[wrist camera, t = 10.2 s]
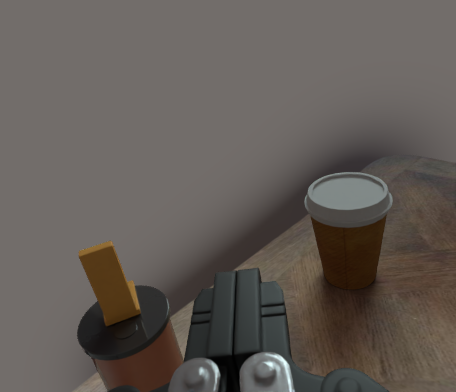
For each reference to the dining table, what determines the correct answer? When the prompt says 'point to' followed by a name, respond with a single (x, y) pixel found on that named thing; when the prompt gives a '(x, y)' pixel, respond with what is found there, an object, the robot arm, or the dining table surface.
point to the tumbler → (133, 344)
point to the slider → (109, 283)
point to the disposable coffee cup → (349, 226)
